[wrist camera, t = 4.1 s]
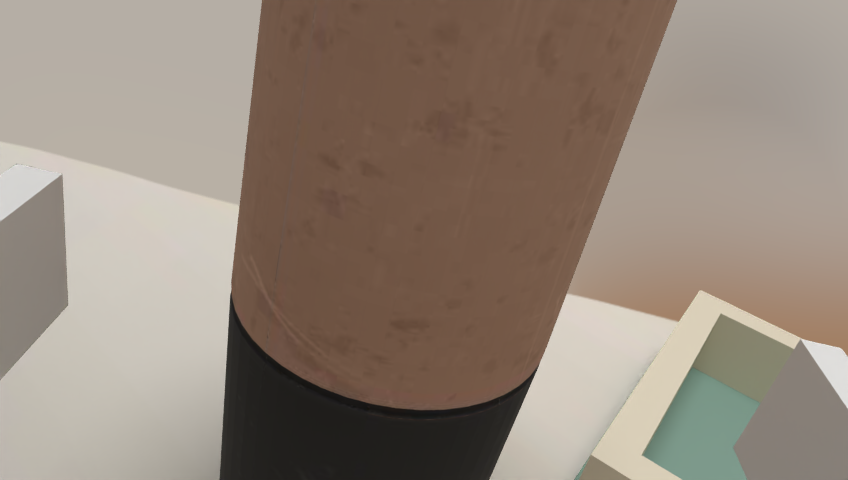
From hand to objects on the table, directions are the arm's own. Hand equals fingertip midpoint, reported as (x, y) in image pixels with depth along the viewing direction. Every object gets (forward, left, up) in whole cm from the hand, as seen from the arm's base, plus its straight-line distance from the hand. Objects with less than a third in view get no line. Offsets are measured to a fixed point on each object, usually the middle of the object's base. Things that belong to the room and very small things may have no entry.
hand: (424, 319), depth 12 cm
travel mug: (-2, +3, -11) cm, 12 cm away
